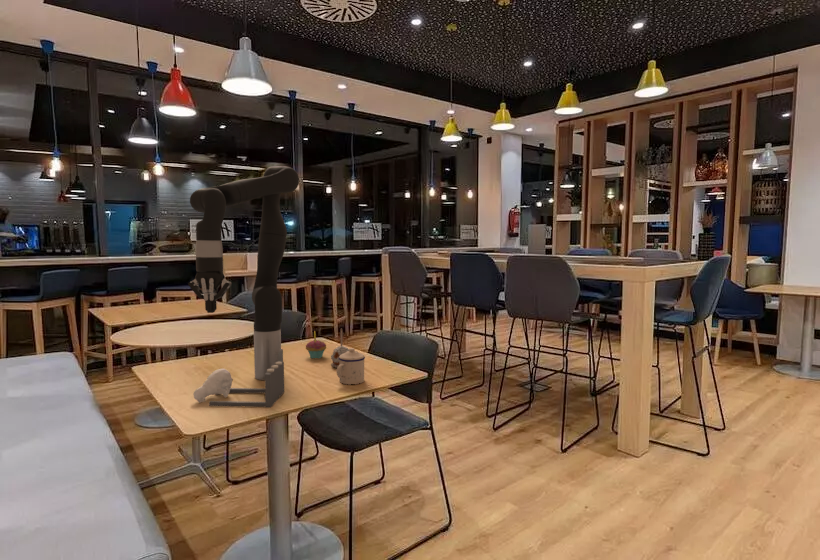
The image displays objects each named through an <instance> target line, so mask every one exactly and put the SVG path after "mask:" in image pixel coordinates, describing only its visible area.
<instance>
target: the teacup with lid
mask: <svg viewBox="0 0 820 560" xmlns="http://www.w3.org/2000/svg"><path fill="white" fill-rule="evenodd" d="M348 349H349V351H347V352H346V353H344V354H341V355H340V356H339V366H338V367H336V375H337V377H338V379H339V382H340V383H341V384H342V383H343V385H347V384H348V386H352V385H351V384H355V385H360V384H362V383H364V381H365V358H366V355H365V354H364V353H361V352H358V351H357V350H356V348H354V347H350V348H348ZM359 383H360V384H359Z"/></svg>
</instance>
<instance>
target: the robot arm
mask: <svg viewBox="0 0 820 560" xmlns="http://www.w3.org/2000/svg"><path fill="white" fill-rule="evenodd" d="M299 183H300V177H299V173H298V172H297V171H296V169H294V168H292V167H290V166H284V165H282V166H280V165H279V166H278V165H277V166H276V165H275V166H269V167H267V168H266V170H265V171H264V173H263V176H261V177H253V178H243V179H238V180H234V181H230V182H227V183H224V184H221V185H216V186H209V187H203V188H199V189H196V190H195V191H193V193H191V195H190V197H189V203H190V205H191V207H192V209H193V210H194V211H196V212H198V213H201V214H202V213H203V217H202V220H199V221H197V223H196V224H195V238H196V241H195V242H196V243H195V253H194V254H195V270H196V274H195V276H194V279H193V280H191V281H190V282H188V283H187V285H188V286H189V287H190V289H191V290H192V292H194V294H195V295H196V296H197V297H198V298H199V299H203V300H204V309H205V311H206V312H207V313H208V314H209V313H210V314H212V313H215V312H216V310H217V309H218V308H217V300H218V299H222V298H223V297H224V295H225V294H226V293H227V292H228V290H229V289H230V288H231V287H232V284H233V283H232V282H231V281H229V280H227V279H226V277H225V274H224V253H223V250H224V249H223V243H222V239H223V238H222V236H223V235H222V227H223V226H222V225H223V221H224V218H225V213H226V208H227V207H231V206H236V205H239V204H243V203H246V202H249V201H252V200H255V199H258V198H262V205H261V206H262V208H261V220H260V228H259V236H258V247H257V265H256V266H257V267H256V268H257V270H256V275H255V281H254V285H253V289H252V292H251V300H252V303H253V304H254V322H253V353H254V354H253V355H254V356H253V357H254V358H253V360H254V361H253V363H254V364H253V365H254V378H255V379H256V380H259V381H265V374H266V373H267V369H272V368H271V366H272V365H275V362H284V349H283V348H282V336H281V335H282V333H281V331H282V328H281V326H282V321H283V297H282V294H281V292H280V290H279V289H278V273H279V269H280V265H281V263H282V260H283V257H284V253H285V250H286V244H287V235H288V234H287V232H288V231H287V226H286V223H285V221H284V216H282V212H281V209H280V207H281V206H280V203H281V201H280V200H281V195H282V194H288V193H293V192H294V191H296V190H297V189H298V186H299ZM220 286H222V287H221V288H220ZM219 288H220V289H219Z"/></svg>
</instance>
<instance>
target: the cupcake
mask: <svg viewBox="0 0 820 560" xmlns="http://www.w3.org/2000/svg"><path fill="white" fill-rule="evenodd" d="M316 336H317V335H316V330H314V332H313V339H314V340H311V341H309V342H307V344H306V345H305V350H306V351H307V352H308V354H309V356H310V358H311V359H313V358H318V359H322V358H321V357H323V356H324V352H325V350H326V349H327V344H326V342H323V341H322V340H317V337H316Z"/></svg>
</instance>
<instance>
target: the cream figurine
mask: <svg viewBox="0 0 820 560" xmlns="http://www.w3.org/2000/svg"><path fill="white" fill-rule="evenodd" d="M233 380H234V379H233V378H232V374H231V372H230V371H229V370H228V369H226V368H219V369H218V368H217V369H216V370H213V371H212V372H211V373H210V374H209V375H208V376H207V378H206V380H205V381H204V382H203V383H202V385H201V386H199V387H198V388H196V389H195V390H194V391H193V394H192V395H193V398H194V400H196V401H197V402H198V404H200V403H203V402H204V403H205V402H207V401H206V400H207V397H209V396H211V395H212V396H213V395H214V396H215V395H222V396H223V398H228V397H229V396H228V395H229V394H230V393H229V392H230V389H231V388H232V384H233Z"/></svg>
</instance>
